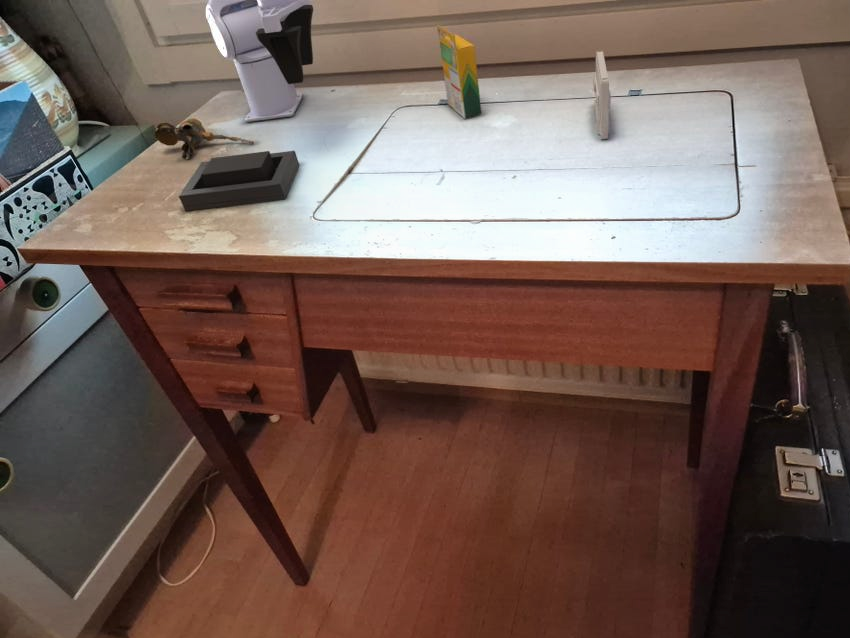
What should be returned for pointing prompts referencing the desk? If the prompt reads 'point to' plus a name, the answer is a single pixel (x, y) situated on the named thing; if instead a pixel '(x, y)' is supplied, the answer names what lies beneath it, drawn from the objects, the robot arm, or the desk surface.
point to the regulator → (188, 135)
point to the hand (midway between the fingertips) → (300, 73)
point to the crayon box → (460, 74)
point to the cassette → (602, 96)
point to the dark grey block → (238, 169)
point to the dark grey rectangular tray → (241, 187)
